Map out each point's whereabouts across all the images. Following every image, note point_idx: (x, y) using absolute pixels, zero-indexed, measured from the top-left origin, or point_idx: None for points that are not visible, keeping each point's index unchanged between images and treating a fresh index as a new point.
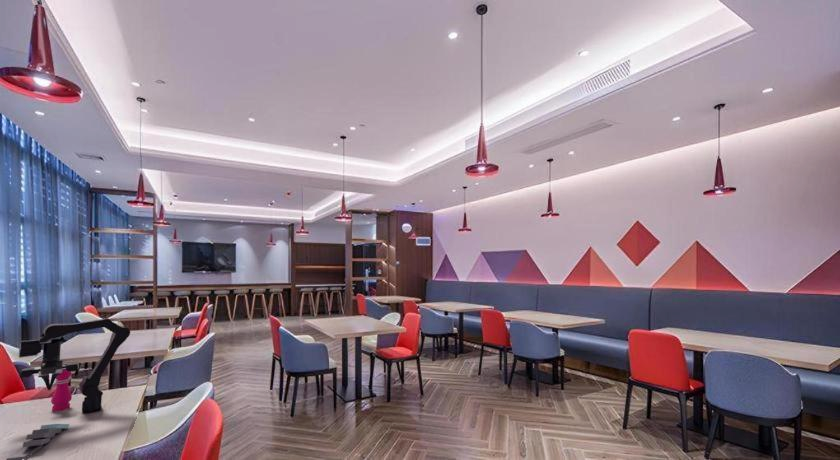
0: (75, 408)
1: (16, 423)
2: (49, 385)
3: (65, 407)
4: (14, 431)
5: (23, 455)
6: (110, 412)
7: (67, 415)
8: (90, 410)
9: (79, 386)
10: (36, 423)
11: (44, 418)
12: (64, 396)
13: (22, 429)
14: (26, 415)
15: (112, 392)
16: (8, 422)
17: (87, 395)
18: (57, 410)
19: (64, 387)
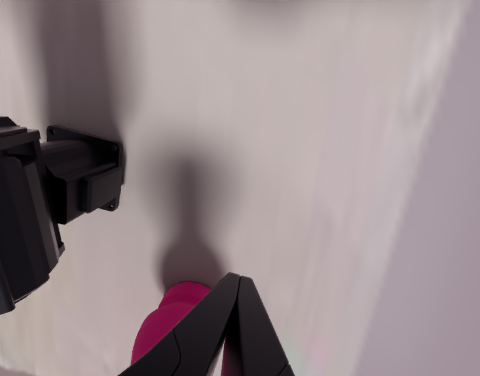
0: (147, 264)
1: (357, 252)
2: (230, 331)
3: (177, 288)
4: (400, 126)
5: None
6: (10, 52)
7: (180, 186)
8: (87, 142)
9: (28, 290)
10: (300, 176)
11: (261, 226)
12: (161, 332)
13: (366, 128)
14: (304, 328)
15: (30, 353)
16: (374, 293)
17: (13, 133)
18: (206, 287)
19: None
